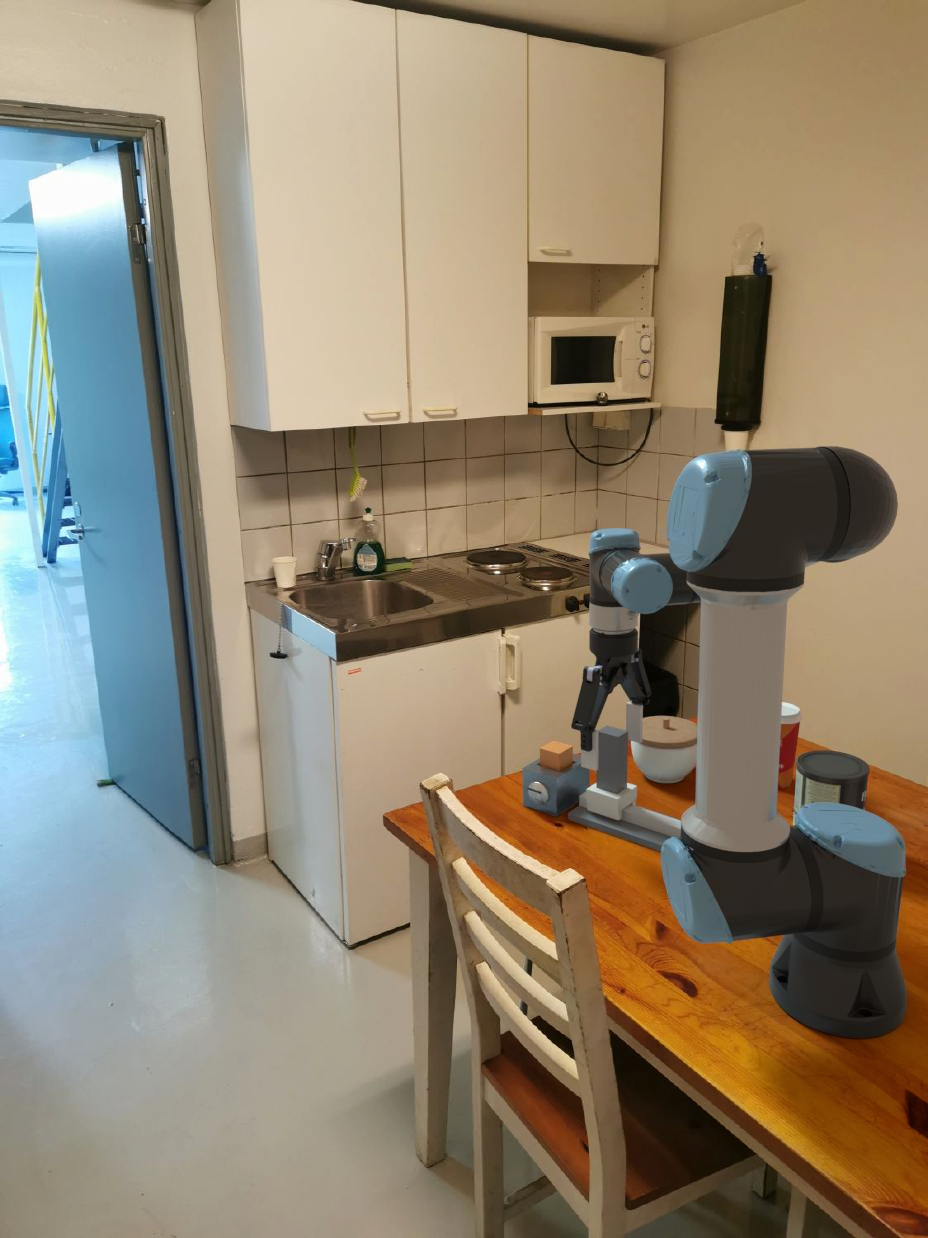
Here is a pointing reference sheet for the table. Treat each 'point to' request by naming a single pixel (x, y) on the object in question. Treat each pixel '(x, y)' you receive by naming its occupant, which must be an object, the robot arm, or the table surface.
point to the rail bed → (630, 824)
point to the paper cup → (788, 743)
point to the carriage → (611, 775)
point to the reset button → (556, 756)
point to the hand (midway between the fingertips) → (612, 754)
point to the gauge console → (554, 786)
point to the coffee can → (830, 779)
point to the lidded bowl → (666, 748)
